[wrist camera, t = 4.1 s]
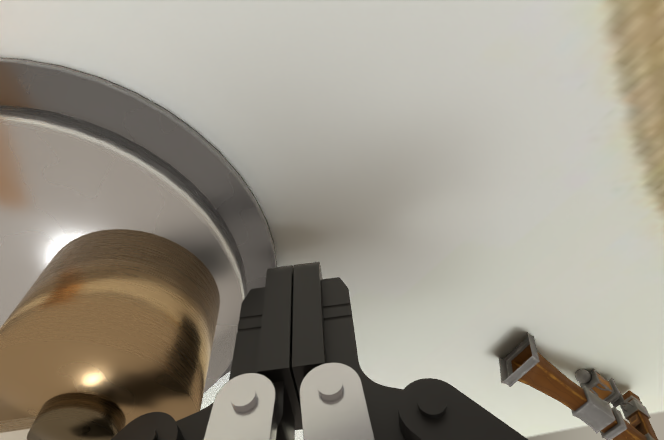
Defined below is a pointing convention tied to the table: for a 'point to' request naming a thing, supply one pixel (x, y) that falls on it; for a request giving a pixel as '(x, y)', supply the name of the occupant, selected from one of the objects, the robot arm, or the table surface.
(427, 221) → the table surface
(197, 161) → the base plate
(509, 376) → the toy blunderbuss
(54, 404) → the cover
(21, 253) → the silver disc with handle
